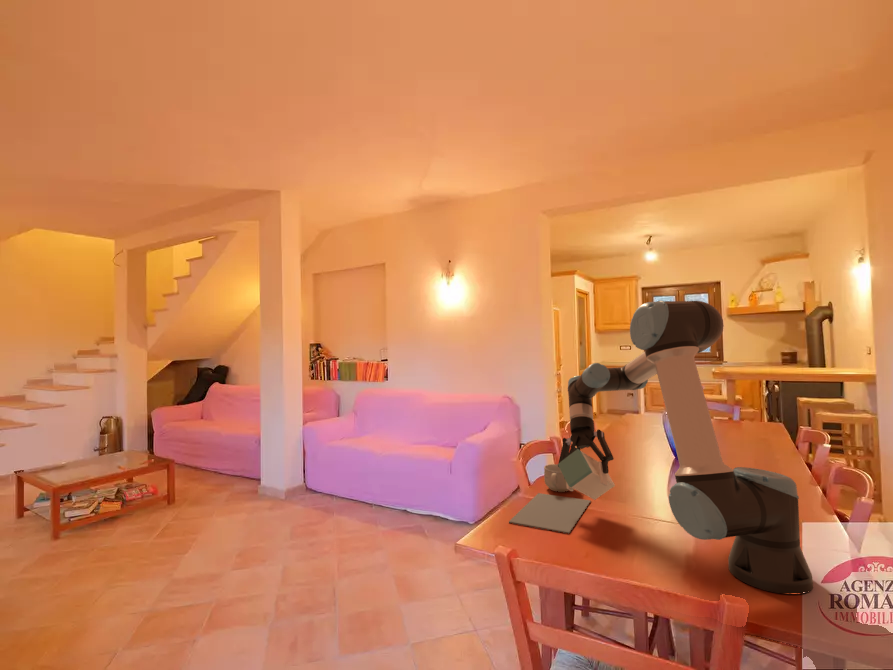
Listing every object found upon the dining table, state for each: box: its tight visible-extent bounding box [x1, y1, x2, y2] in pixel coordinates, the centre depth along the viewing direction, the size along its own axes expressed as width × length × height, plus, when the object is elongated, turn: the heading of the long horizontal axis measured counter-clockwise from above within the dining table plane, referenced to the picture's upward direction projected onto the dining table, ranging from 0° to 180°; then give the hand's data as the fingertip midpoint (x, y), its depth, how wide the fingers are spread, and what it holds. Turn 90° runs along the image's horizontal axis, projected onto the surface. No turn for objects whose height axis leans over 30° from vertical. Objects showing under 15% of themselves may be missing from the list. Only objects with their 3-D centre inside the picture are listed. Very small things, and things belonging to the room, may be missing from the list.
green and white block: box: [557, 449, 616, 501], centre depth 135 cm, size 8×8×14 cm
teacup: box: [543, 463, 569, 493], centre depth 160 cm, size 14×11×8 cm
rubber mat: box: [508, 492, 592, 535], centre depth 140 cm, size 28×18×1 cm, turn 150°
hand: (586, 487), depth 133 cm, fingers closed on green and white block, 11 cm apart
